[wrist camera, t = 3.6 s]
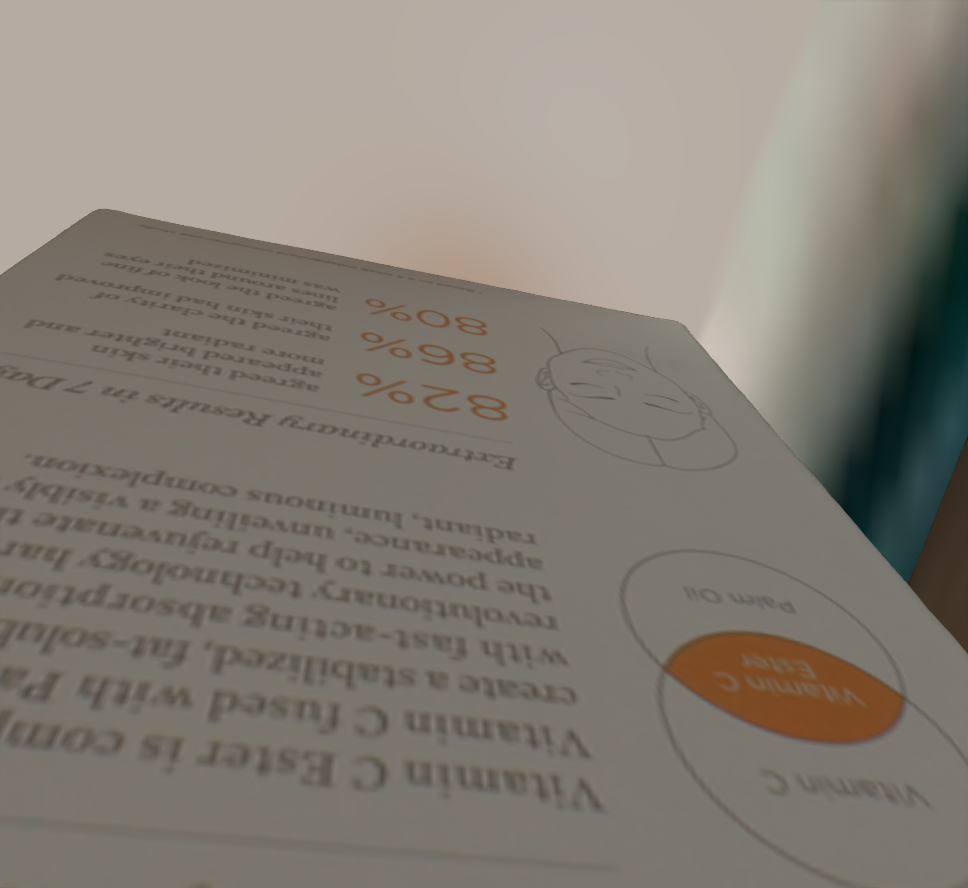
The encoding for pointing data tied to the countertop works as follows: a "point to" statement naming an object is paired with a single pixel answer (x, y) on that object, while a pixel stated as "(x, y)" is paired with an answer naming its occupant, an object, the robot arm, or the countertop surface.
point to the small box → (431, 595)
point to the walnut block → (948, 558)
